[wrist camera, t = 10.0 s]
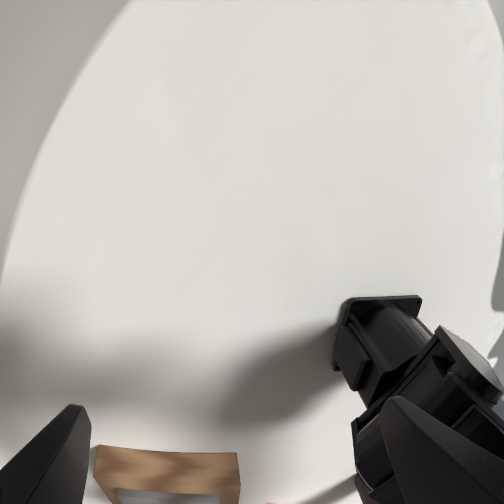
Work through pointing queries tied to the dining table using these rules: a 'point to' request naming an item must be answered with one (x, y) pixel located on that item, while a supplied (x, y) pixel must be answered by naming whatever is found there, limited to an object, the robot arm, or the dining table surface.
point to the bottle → (364, 492)
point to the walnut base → (167, 477)
